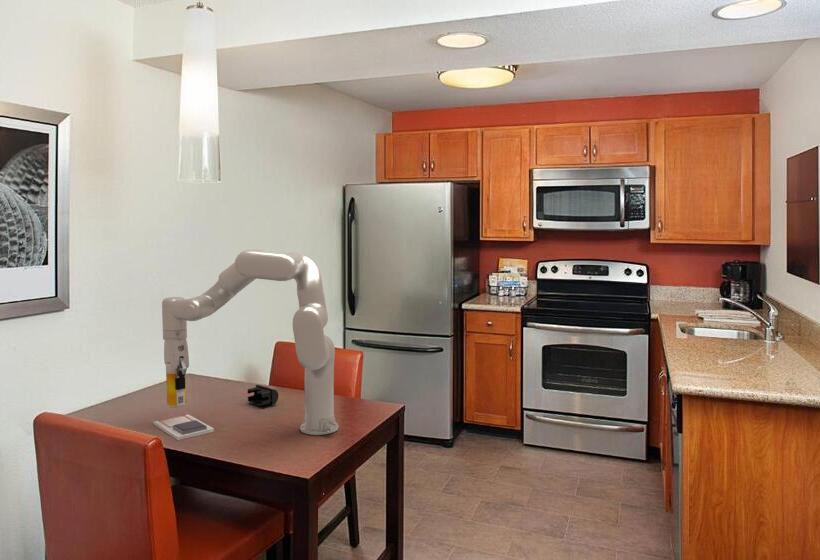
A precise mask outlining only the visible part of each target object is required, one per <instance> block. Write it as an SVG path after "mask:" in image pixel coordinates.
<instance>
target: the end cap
mask: <svg viewBox="0 0 820 560" xmlns="http://www.w3.org/2000/svg"><path fill="white" fill-rule="evenodd" d="M252 393H253V394H252ZM247 394H252V395H249V396H247V401H248V404H249V406H252V407H254V408H258V409H261V410H265V408H266V409H269V408H272V407H274V405H275V404H276V403H277V402H278V401H279V393H278V391H277V390H276V389H274V388H271V387H267V386H264V385H260V384H255V387H251V388H248V389H247Z"/></svg>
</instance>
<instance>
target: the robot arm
mask: <svg viewBox="0 0 820 560" xmlns="http://www.w3.org/2000/svg"><path fill="white" fill-rule="evenodd" d="M256 279H257V280H267V281H275V282H287V281H291V280H293V279H294V281H295V282H296V295H297V299H298V309H297V310H296V311H295V312H294V315H293V317H292V332H293V338H294V344H295V351H296V352H295V353H296V356H297V360H298V363H299V364H300V366H302V368H304V422H303V423H302V424H301V425H300V427H299V430H300V431H301V433H303V434H305V435H310V436H322V435H323V436H324V435H330V434H333V433H335V432H337V431H338V430H339V423H338V422H336V418H335V415H334V413H335V412H334V411H335V409H334V408H335V407H334V405H335V403H334V402H335V398H334V397H335V395H334V393H335V392H334V388H335V387H334V386H335V385H334V382H335V379H334V378H335V376H334V374H335V360H336V359H335V358H336V357H335V356H336V348H335V344H334V342H333V340H332V339H331V338H330V336H327V335H326V334H325V331H324V328H325V327H326V326H327V324H328V321H329V320H328V319H329V316H328V312H327V305H326V298H325V294H324V289H323V288H324V286H323V280H322V275H321V272H320V270H319V267H318V266H317V264H316V263H315V261H313V259H312V258H310V257H309V256H306V255H304V254H302V253H298V252H286V253H272V252H271V253H270V252H265V251H263V250H261V249H258V248H253V249H247V250H243V251H241V252H240V253H239V254H237V256H236V257H235V260H234V262H233V263H232V264H231V265H229V266H227V268H225V269H224V270H222V271H221V272H220V273H219V275H218V279H217V281H216V282H215V283H214V285H212V286H211V287H210V288H209V289H207V290H206V291H205V292H203V293H202V294H200V295H198V296H194V297H191V298H186V299H185V298H184V297H180V296H179V297H178V296H172V297H171V296H170V297H165V298H164V299H162V302H161V309H162V310H161V318H162V322H161V323H162V340H164V342H163V343H164V347H163V358H164V359H163V360H164V364H165V366H166V364H167V363H170V364H171V366H172V368H173V369H175V373H176V378H175V389H176V390H180V389H185V377H186V373H187V370H188V368H189V367H190V359H189V358H190V357H189V347H188V341H187V339H188V331H187V330H188V327H187V325H188V323H187V321H188V322H196V321H199V320H202V319H204V318H207V317H210V316H211V315H213V314H214V313H216V312H218V310H219V309H221V308H222V307H224V306H225V305H226V304H227V303H228V302H229V301H230V300H232V299H233V298H234V297H236V296H237V294H238V293H239V292H241V291H242V290H243V289H245V288H246V287H247V286H249V285H250V284H251V283H252V282H254V281H255V280H256ZM178 366H181V368H178ZM178 370H181V371H180V372H179V373H178ZM186 378H187V377H186Z"/></svg>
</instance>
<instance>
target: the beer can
mask: <svg viewBox="0 0 820 560" xmlns="http://www.w3.org/2000/svg"><path fill="white" fill-rule="evenodd" d="M178 368H181V366H178ZM180 371H181V370H178V373H179V372H180ZM165 377H166V378H165V382H166V384H165V385H166V401H167V403H166V405H167V406H168V407H169V408H173V409H174V408H175V409H177V408H182V407H184V406H186V403H187V379H186V378H187V377H185V389H180V390H176V389H175V378H176V373H175V369H173V368H172V366H171V364H170V363H167V364H166V365H165Z"/></svg>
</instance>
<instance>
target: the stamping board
mask: <svg viewBox="0 0 820 560" xmlns="http://www.w3.org/2000/svg"><path fill="white" fill-rule="evenodd" d="M153 425H154V426H155V427H157V428H158V429H159V430H161V431H163V432H164V433H166V434H167V435H169V436H170V437H172V438H174V439H175V440H176V441H180V440H185V439H188V438H192V437H193V438H194V437H197V436H201V435H206V434H209V433H210V434H211V433H214V432H215V428H214V427H212V426H210V425H208V424H207V423H204V422H203V421H201V420H199V419H197V418H196V417H194V416H192V415H191V414H183V415H180V416H173V417H169V418H165V419H164V418H163V419H161V420H156V421H153Z"/></svg>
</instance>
